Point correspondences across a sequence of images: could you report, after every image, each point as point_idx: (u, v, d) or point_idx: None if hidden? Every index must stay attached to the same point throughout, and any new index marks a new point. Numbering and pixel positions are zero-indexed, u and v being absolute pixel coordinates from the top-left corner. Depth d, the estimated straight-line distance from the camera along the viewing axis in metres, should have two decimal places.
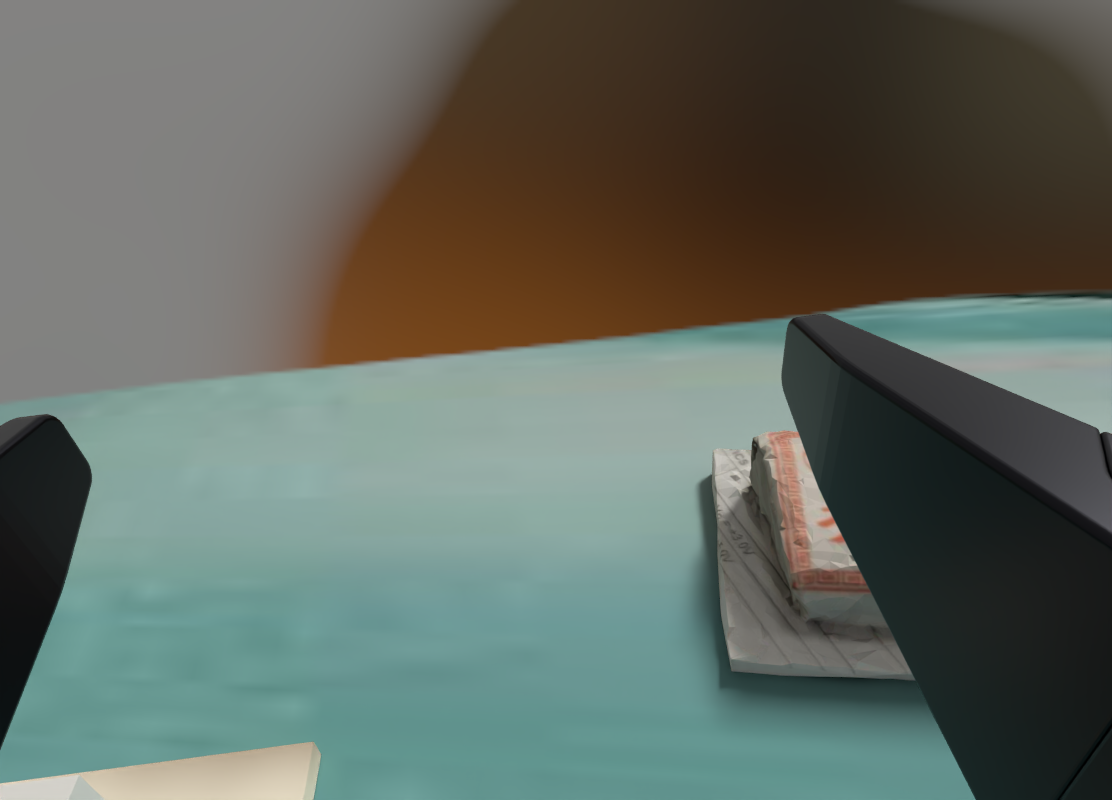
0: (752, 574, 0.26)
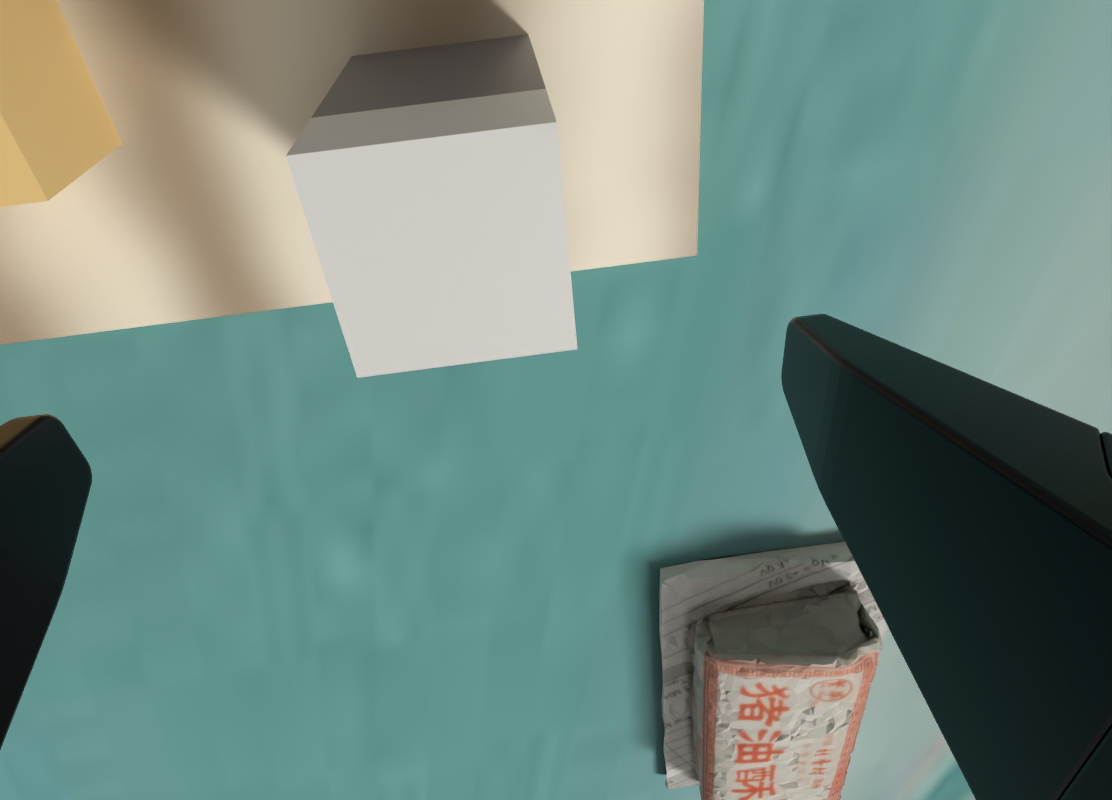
0: (746, 587, 0.29)
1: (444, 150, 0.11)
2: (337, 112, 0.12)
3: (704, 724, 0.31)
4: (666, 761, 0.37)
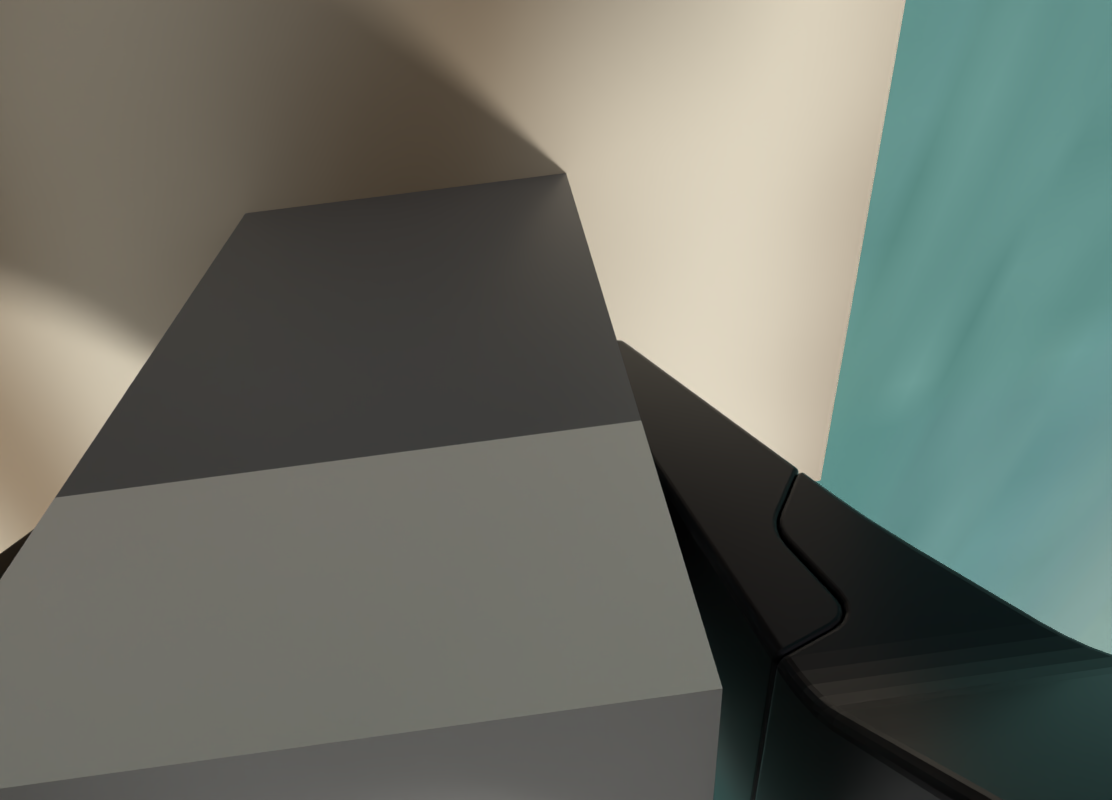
0: None
1: (365, 758, 0.03)
2: (124, 478, 0.05)
3: None
4: None
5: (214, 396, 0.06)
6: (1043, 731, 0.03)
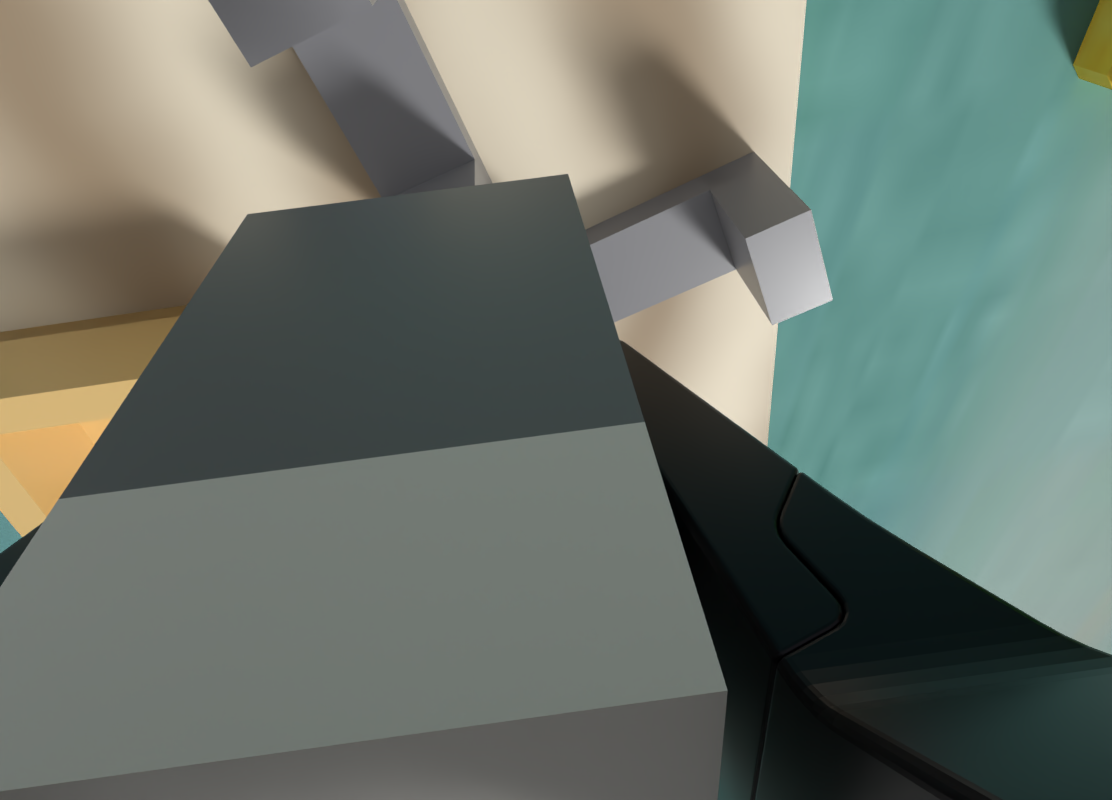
0: None
1: (371, 761, 0.03)
2: (128, 480, 0.05)
3: None
4: None
5: (217, 397, 0.06)
6: (1041, 732, 0.03)
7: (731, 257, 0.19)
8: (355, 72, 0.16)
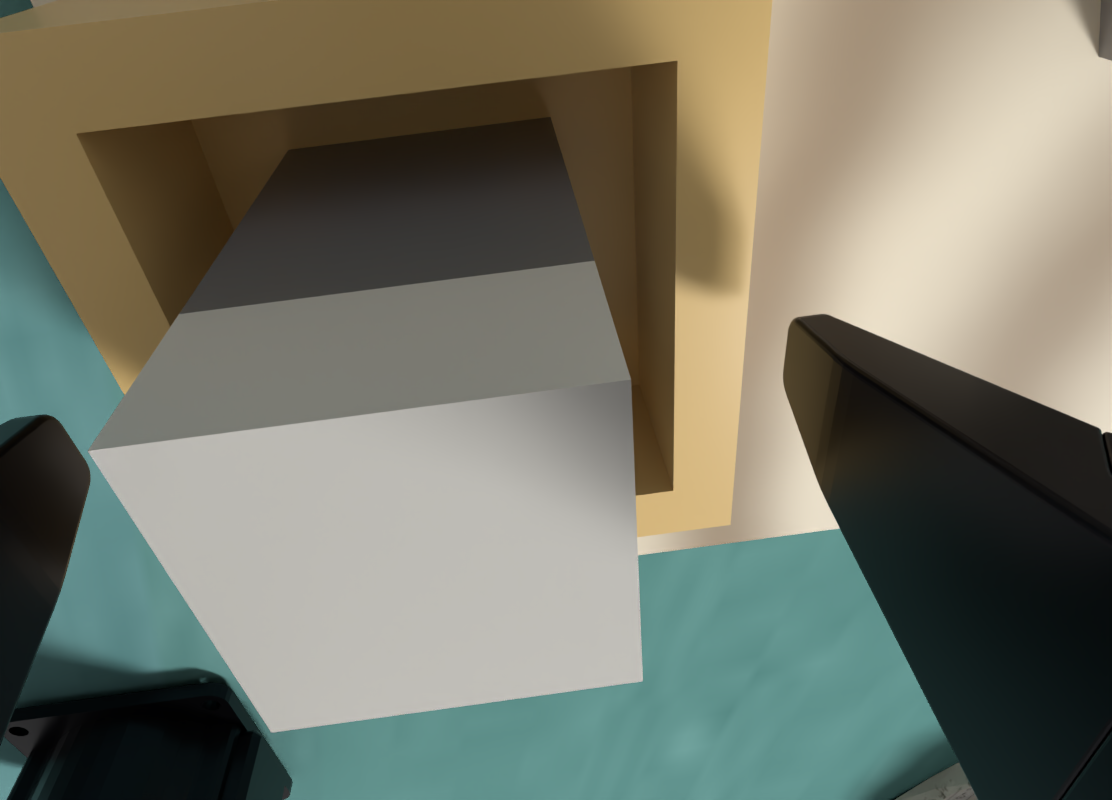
0: None
1: (407, 430, 0.05)
2: (227, 302, 0.07)
3: None
4: None
5: (283, 258, 0.08)
6: None
7: None
8: None
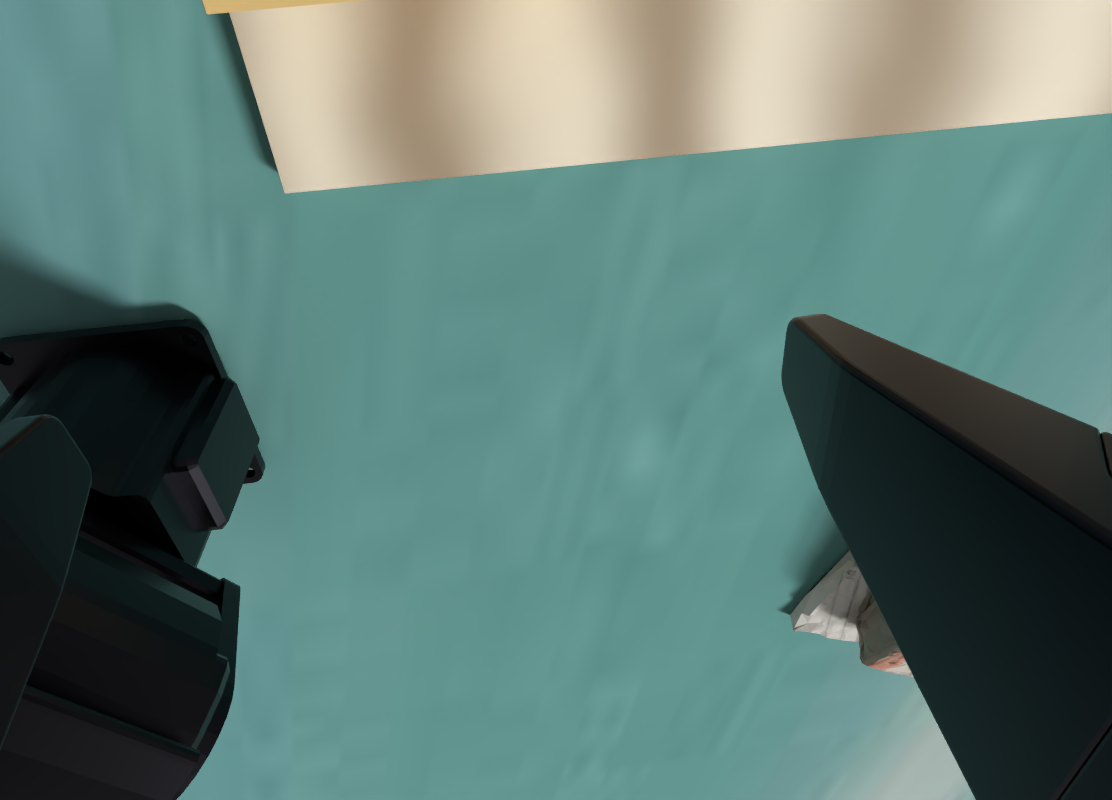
0: (856, 589, 0.32)
1: None
2: None
3: None
4: None
5: None
6: None
7: None
8: None
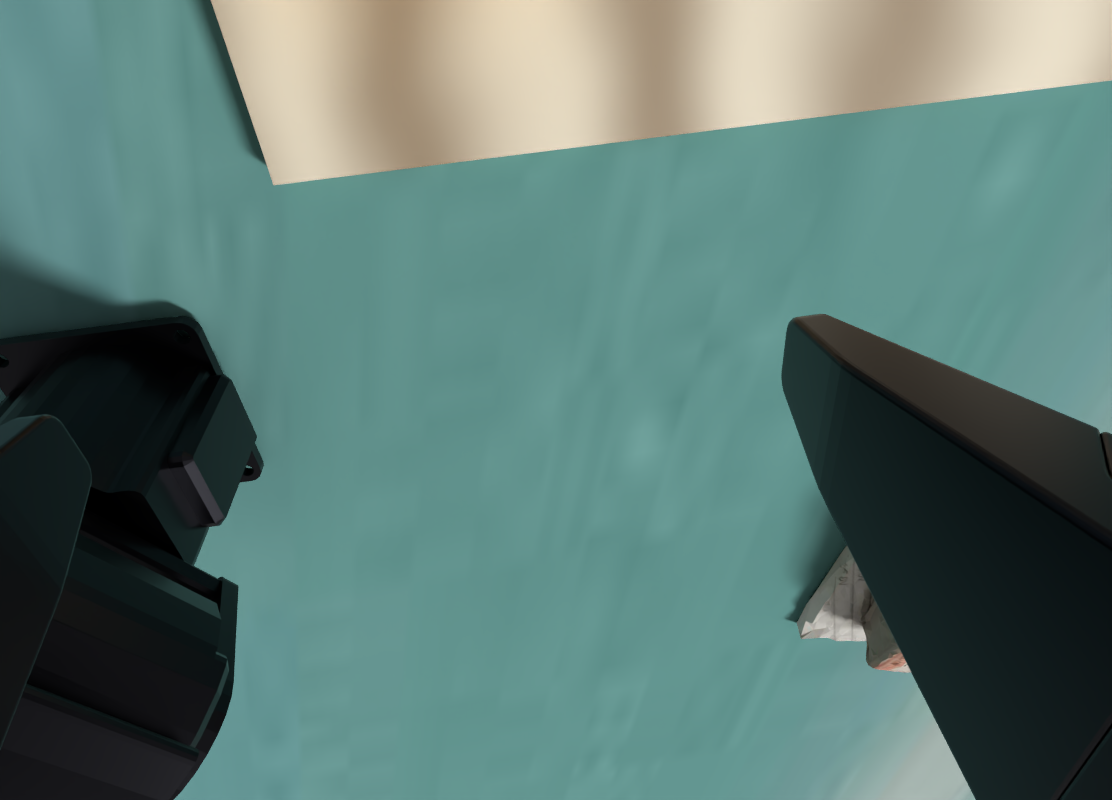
0: (853, 592, 0.32)
1: None
2: None
3: None
4: None
5: None
6: None
7: None
8: None
